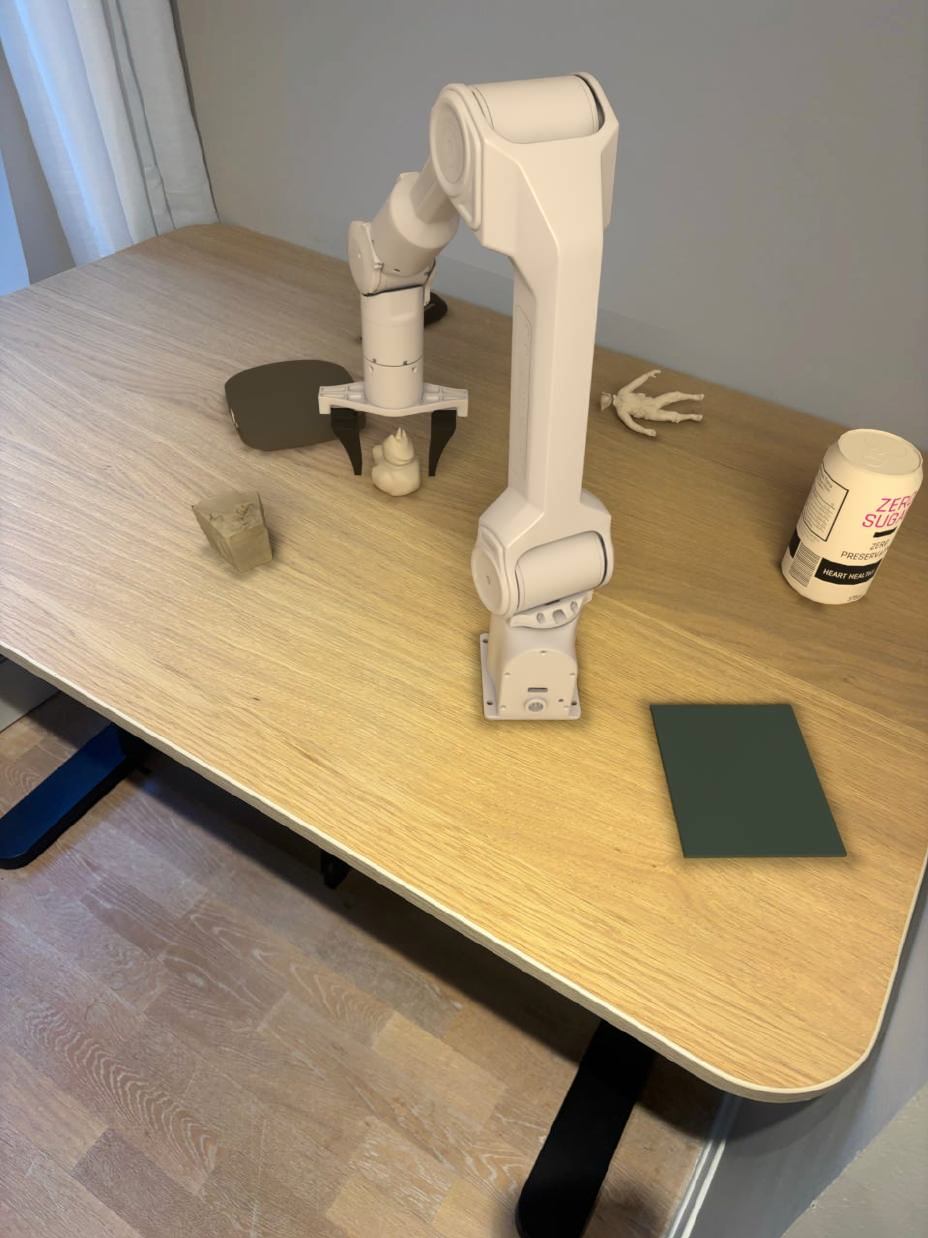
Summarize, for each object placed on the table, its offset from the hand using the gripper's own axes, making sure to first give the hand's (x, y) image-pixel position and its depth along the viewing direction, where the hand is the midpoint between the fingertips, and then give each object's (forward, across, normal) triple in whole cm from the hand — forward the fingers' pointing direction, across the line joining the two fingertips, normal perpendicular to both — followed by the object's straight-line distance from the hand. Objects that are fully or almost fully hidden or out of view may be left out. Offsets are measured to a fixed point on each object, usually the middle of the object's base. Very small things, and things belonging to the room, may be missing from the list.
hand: (395, 470), depth 92 cm
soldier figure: (+2, -30, -14) cm, 33 cm away
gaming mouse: (+2, 0, -37) cm, 37 cm away
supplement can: (+2, -42, +14) cm, 44 cm away
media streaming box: (+2, +12, -14) cm, 19 cm away
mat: (+2, -28, +37) cm, 46 cm away
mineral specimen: (+2, +14, +12) cm, 19 cm away
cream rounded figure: (+2, 0, 0) cm, 2 cm away
